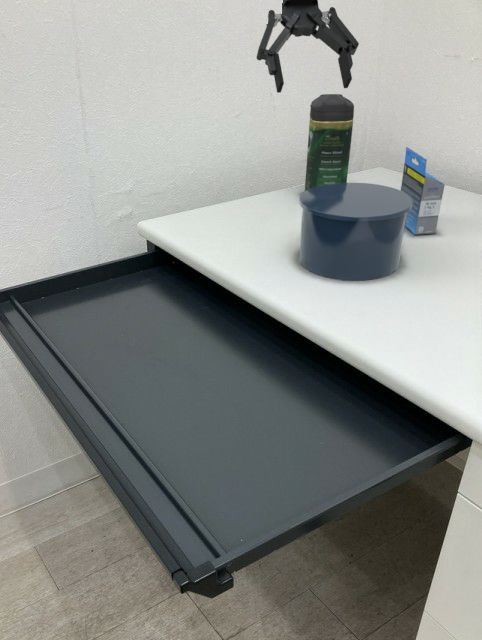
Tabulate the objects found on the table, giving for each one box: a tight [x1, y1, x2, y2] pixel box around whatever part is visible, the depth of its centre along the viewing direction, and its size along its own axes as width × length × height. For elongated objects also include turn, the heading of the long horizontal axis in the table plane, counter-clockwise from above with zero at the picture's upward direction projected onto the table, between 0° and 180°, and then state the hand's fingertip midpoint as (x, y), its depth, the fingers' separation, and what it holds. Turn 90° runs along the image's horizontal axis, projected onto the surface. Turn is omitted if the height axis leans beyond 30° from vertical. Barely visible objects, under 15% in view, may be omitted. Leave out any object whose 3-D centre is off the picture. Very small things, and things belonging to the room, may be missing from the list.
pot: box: [298, 182, 413, 282], centre depth 89 cm, size 16×16×10 cm
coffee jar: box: [304, 93, 355, 192], centre depth 112 cm, size 10×8×19 cm
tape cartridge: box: [400, 146, 446, 236], centre depth 99 cm, size 9×4×12 cm, turn 5°
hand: (314, 85), depth 115 cm, fingers open, 13 cm apart
